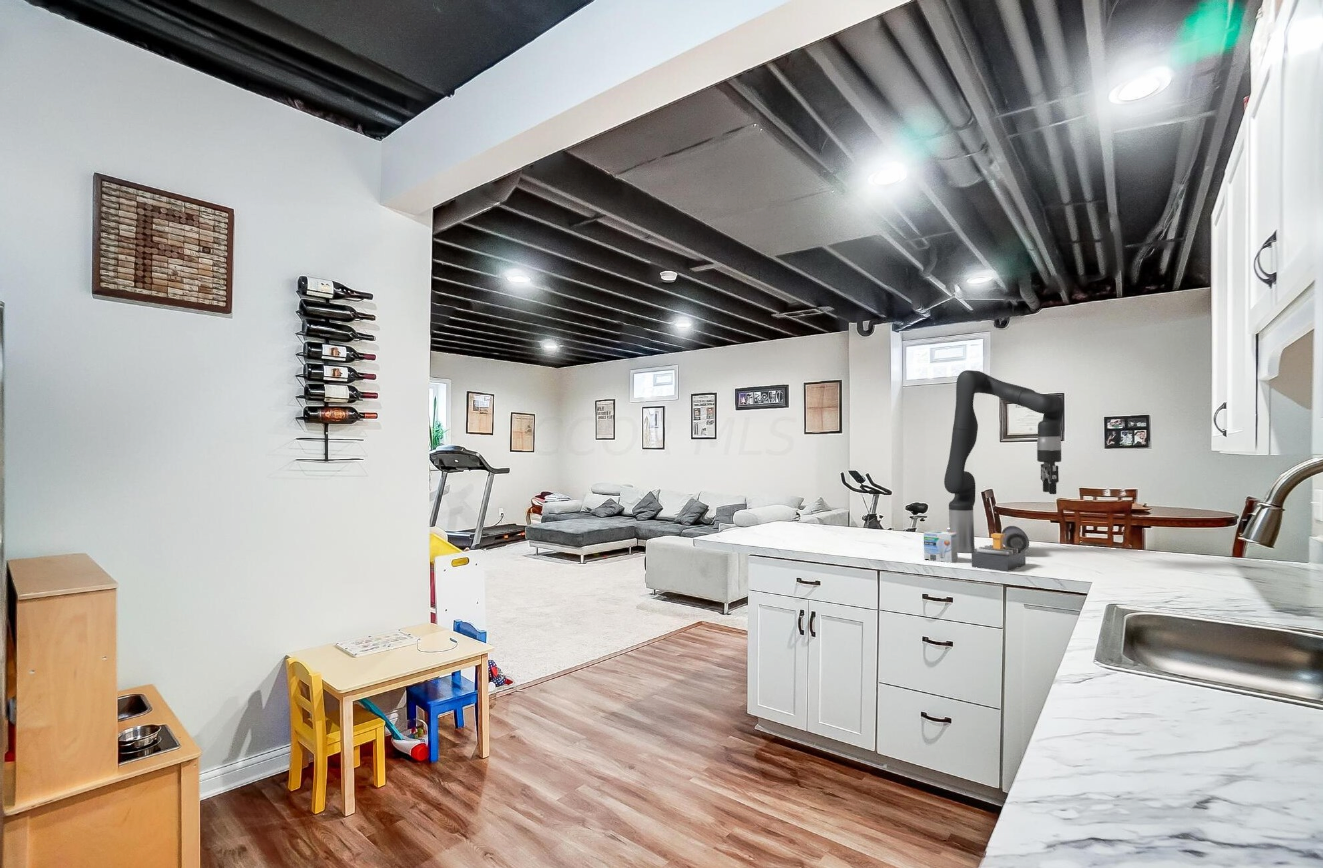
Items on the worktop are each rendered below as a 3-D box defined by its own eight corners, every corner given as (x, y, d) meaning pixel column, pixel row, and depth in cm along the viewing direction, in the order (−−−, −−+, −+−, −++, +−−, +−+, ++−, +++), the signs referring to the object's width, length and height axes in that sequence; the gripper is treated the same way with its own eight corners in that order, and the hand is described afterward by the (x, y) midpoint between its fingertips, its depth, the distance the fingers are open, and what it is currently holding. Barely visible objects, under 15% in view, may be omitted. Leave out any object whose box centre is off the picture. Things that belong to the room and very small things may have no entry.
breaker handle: (991, 551, 222) (991, 534, 222) (995, 549, 224) (995, 532, 225) (1000, 552, 219) (1000, 534, 220) (1005, 550, 222) (1004, 533, 222)
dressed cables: (976, 552, 222) (976, 548, 222) (990, 548, 230) (990, 544, 230) (1008, 556, 214) (1008, 552, 214) (1022, 551, 222) (1021, 547, 222)
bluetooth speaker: (1000, 547, 262) (999, 524, 263) (1025, 548, 258) (1024, 524, 259) (1003, 555, 242) (1002, 530, 242) (1031, 557, 238) (1030, 531, 238)
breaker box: (971, 566, 221) (971, 548, 221) (990, 560, 232) (990, 543, 232) (1007, 571, 212) (1007, 552, 212) (1025, 564, 223) (1025, 547, 223)
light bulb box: (923, 559, 236) (922, 532, 237) (929, 557, 241) (928, 530, 242) (952, 562, 229) (951, 534, 229) (958, 560, 234) (957, 532, 234)
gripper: (1032, 448, 232) (1033, 491, 232) (1042, 449, 219) (1042, 494, 219) (1055, 448, 230) (1056, 491, 230) (1066, 449, 216) (1067, 495, 216)
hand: (1049, 493), depth 224 cm, fingers open, 8 cm apart
